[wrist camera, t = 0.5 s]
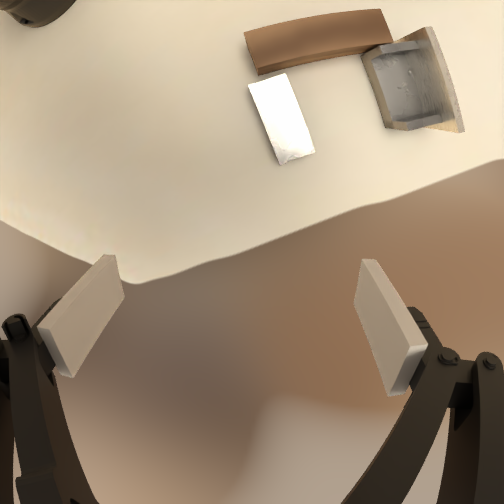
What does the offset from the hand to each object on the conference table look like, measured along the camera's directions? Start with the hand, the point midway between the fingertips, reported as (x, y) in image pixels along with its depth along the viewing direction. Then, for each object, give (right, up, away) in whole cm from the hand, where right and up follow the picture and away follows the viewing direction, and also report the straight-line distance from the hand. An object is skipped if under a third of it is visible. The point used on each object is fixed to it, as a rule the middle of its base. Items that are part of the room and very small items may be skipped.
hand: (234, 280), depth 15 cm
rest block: (+5, +18, +19) cm, 26 cm away
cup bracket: (+18, +23, +16) cm, 33 cm away
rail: (+9, +27, +15) cm, 32 cm away
